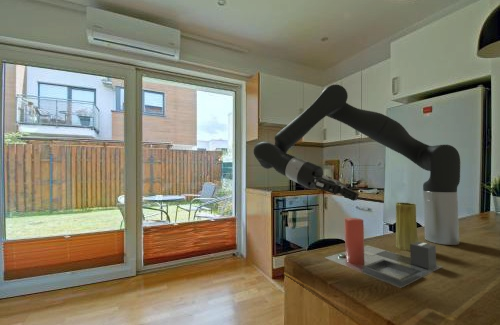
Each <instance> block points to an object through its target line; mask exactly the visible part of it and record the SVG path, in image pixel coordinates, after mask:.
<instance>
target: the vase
mask: <svg viewBox="0 0 500 325" xmlns="http://www.w3.org/2000/svg"><path fill="white" fill-rule="evenodd" d="M416 206H417V204H416V203H414V202H413V203H412V202H396V203H395V248H397V249H399V250H403V251H408V252H410V244H412V243H415V242H419V240H418V229H417V228H418V226H417V210H416V209H417V207H416Z"/></svg>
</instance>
